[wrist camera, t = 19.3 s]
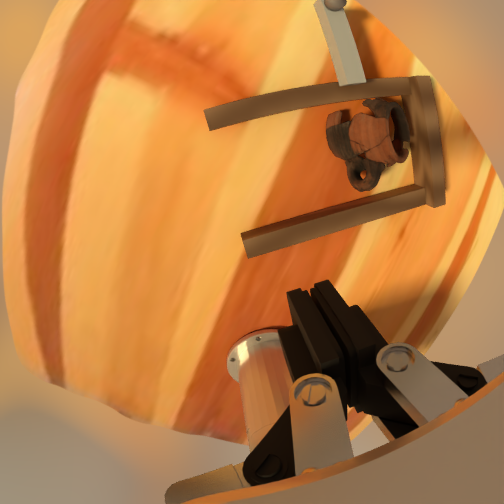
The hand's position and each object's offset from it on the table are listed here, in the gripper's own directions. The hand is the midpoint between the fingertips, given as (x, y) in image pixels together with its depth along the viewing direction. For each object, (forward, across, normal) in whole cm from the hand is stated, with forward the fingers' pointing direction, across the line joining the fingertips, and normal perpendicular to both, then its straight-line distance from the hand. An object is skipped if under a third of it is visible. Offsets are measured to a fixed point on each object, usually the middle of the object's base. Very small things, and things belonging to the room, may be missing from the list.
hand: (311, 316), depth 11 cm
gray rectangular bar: (+22, -14, -16) cm, 31 cm away
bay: (+25, -12, -2) cm, 28 cm away
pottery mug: (+26, -16, -3) cm, 30 cm away
